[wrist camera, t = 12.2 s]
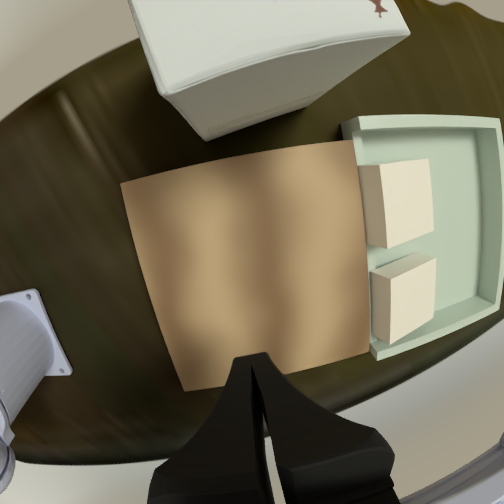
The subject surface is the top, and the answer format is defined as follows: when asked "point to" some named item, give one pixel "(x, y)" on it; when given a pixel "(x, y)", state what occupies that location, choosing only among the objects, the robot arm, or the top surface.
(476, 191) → the grey-green tray
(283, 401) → the robot arm
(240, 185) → the oak board
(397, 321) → the far cream tile
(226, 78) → the supplement box
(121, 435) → the top surface
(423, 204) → the near cream tile
